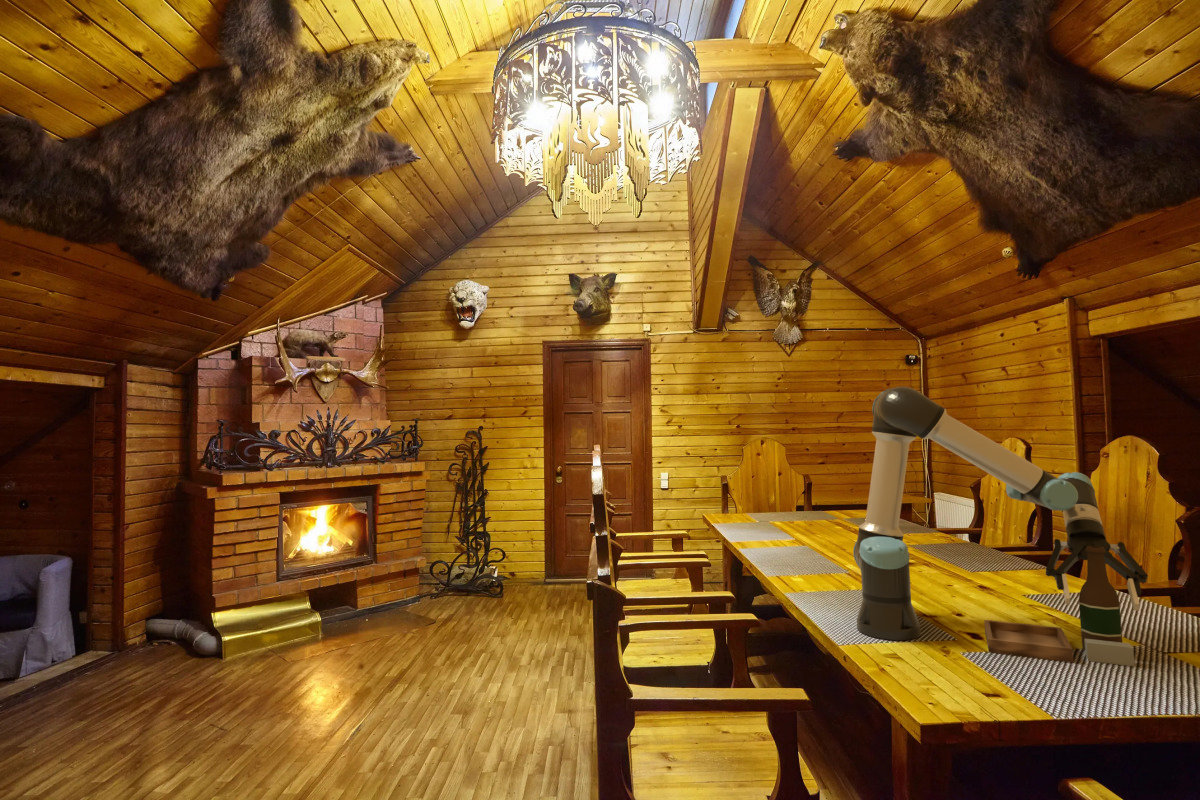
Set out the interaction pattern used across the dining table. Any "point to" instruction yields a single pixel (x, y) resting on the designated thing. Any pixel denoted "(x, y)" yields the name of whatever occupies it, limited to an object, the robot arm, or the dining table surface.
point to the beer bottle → (1099, 601)
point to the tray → (1028, 640)
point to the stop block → (1109, 652)
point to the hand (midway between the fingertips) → (1101, 604)
